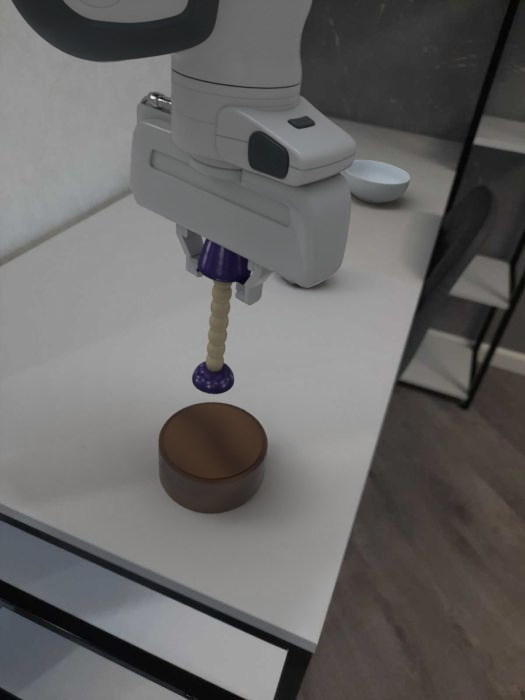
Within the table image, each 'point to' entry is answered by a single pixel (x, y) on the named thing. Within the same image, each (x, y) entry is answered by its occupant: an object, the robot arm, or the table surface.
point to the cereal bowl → (376, 181)
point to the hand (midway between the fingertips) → (222, 286)
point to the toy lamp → (218, 315)
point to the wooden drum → (212, 456)
